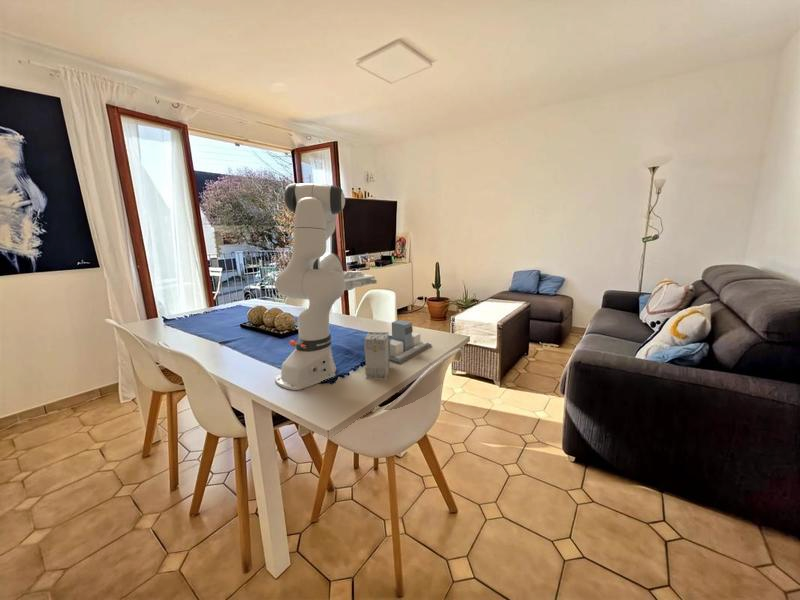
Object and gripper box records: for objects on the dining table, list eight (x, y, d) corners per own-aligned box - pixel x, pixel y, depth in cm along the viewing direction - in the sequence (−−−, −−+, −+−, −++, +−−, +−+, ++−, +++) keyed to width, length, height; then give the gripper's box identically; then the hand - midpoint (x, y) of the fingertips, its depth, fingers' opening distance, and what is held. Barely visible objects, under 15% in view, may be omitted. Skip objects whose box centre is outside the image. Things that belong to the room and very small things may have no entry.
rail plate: (399, 364, 130) (399, 349, 129) (373, 356, 139) (372, 342, 137) (431, 346, 149) (431, 333, 148) (406, 340, 157) (406, 328, 156)
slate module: (406, 352, 140) (405, 325, 137) (392, 348, 144) (391, 322, 141) (412, 348, 143) (412, 322, 141) (399, 345, 148) (398, 319, 145)
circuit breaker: (391, 363, 132) (390, 327, 128) (386, 379, 118) (385, 339, 114) (372, 362, 132) (371, 326, 129) (365, 378, 119) (364, 339, 115)
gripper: (330, 276, 148) (352, 279, 140) (361, 271, 164) (383, 273, 156) (331, 290, 149) (352, 293, 141) (362, 284, 165) (383, 287, 157)
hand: (369, 283), depth 148 cm, fingers open, 8 cm apart
